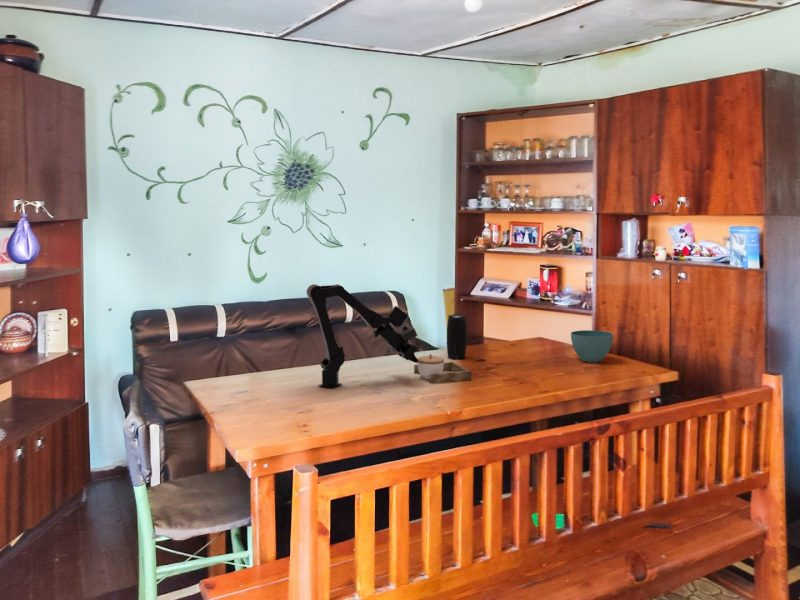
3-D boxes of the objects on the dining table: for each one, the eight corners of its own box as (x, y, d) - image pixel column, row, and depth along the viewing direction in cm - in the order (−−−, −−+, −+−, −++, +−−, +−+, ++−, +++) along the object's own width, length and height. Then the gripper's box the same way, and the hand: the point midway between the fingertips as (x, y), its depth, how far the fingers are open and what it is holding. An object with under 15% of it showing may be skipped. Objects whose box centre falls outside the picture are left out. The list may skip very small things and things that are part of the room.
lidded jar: (444, 375, 291) (445, 352, 290) (442, 381, 280) (443, 357, 279) (418, 374, 292) (418, 351, 291) (415, 380, 282) (415, 357, 281)
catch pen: (430, 383, 277) (430, 374, 276) (414, 373, 294) (414, 365, 293) (471, 380, 282) (471, 371, 282) (452, 370, 299) (452, 362, 299)
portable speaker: (453, 355, 330) (454, 313, 327) (470, 357, 324) (471, 315, 322) (442, 358, 323) (442, 315, 321) (459, 360, 317) (460, 317, 315)
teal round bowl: (561, 358, 322) (562, 331, 321) (593, 355, 330) (594, 328, 329) (588, 366, 306) (589, 338, 305) (621, 362, 314) (622, 335, 312)
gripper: (412, 324, 271) (439, 351, 276) (396, 317, 288) (422, 342, 293) (393, 346, 269) (420, 372, 274) (378, 338, 287) (404, 363, 292)
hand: (417, 362), depth 284 cm, fingers closed, pressing on lidded jar
